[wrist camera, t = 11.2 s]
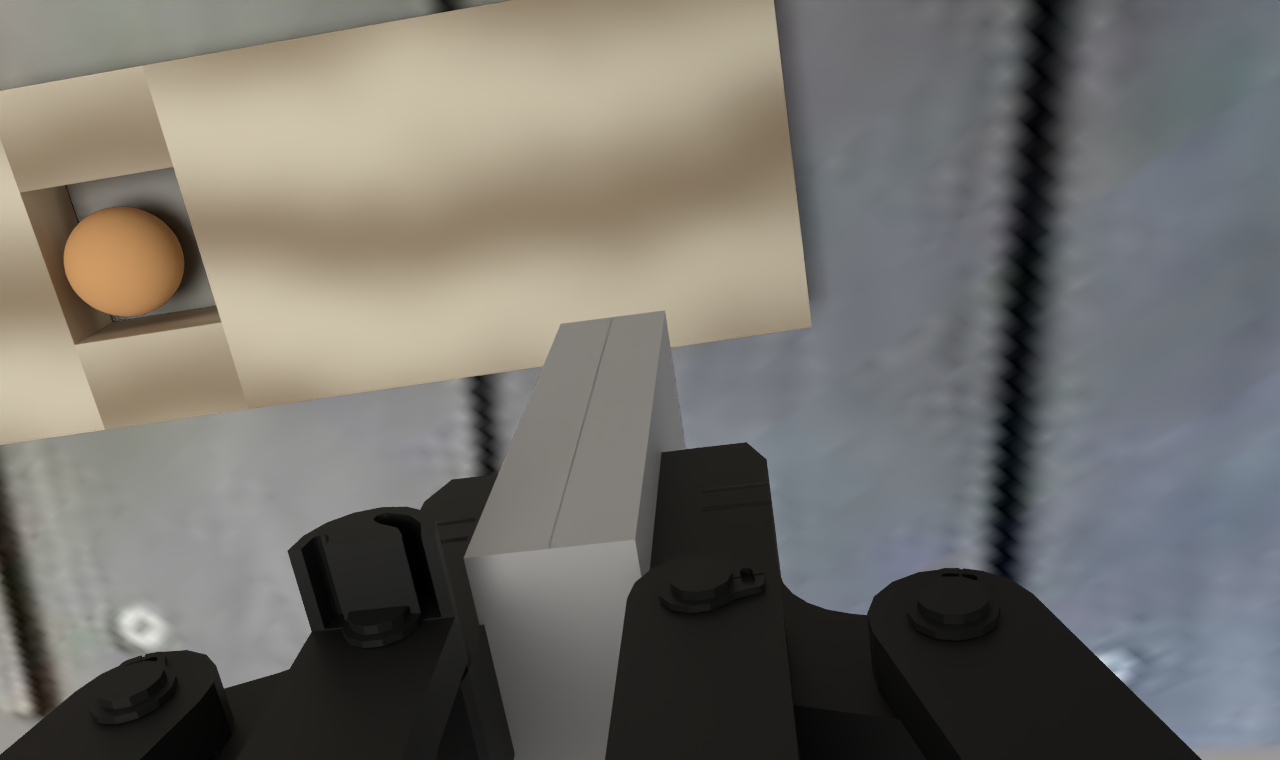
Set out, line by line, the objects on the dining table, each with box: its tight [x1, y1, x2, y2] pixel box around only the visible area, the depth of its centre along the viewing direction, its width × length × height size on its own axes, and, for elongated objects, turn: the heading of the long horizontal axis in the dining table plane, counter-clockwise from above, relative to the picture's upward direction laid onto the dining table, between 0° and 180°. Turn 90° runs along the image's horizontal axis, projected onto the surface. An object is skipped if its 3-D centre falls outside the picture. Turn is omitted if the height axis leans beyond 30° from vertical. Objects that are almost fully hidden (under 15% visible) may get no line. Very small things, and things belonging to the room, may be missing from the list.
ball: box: [64, 207, 184, 316], centre depth 35 cm, size 4×4×4 cm
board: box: [0, 0, 812, 445], centre depth 35 cm, size 11×30×2 cm, turn 99°
